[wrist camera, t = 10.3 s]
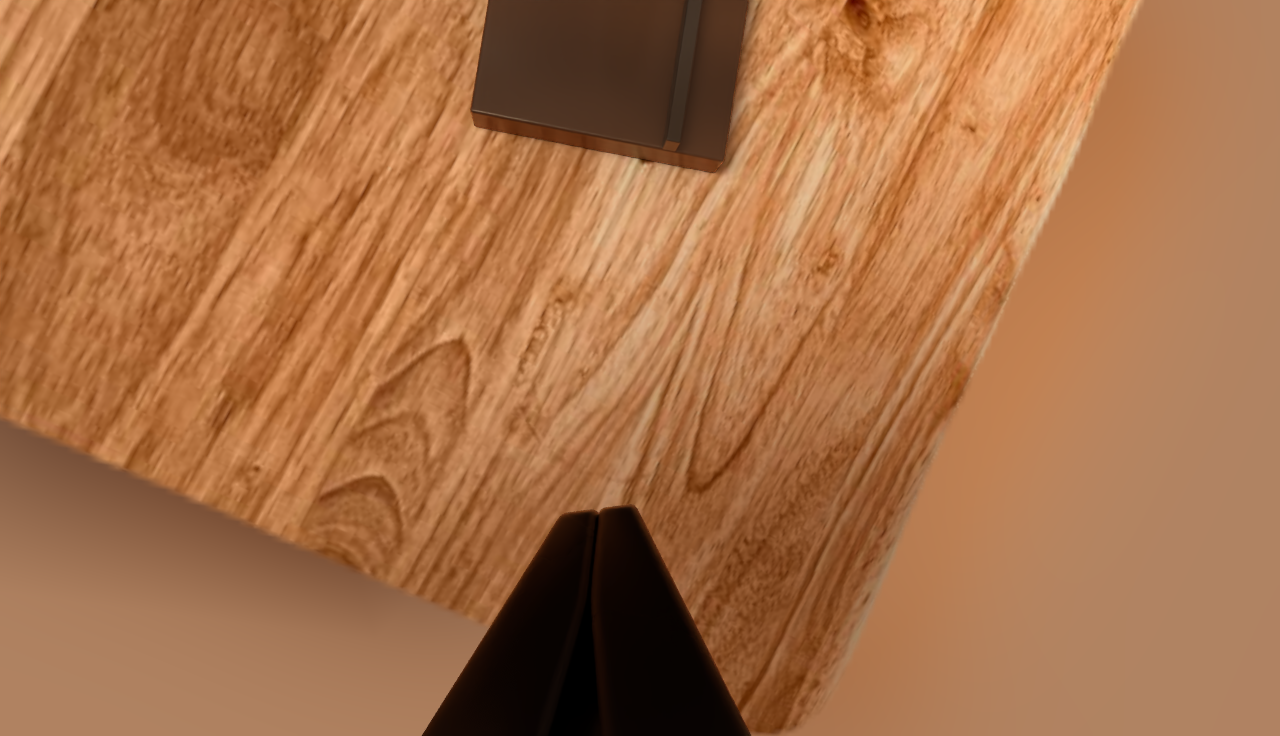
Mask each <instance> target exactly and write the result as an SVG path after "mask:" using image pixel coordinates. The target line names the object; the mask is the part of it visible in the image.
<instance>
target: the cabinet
mask: <svg viewBox="0 0 1280 736" xmlns="http://www.w3.org/2000/svg"><path fill="white" fill-rule="evenodd" d="M748 2H749V0H488V6H487V12H486V18H485V24H484V30H483V36H482V42H481V48H480V54H479V60H478V67H477V73H476V79H475V85H474V91H473V97H472V103H471V109H470V110H471V114H472V118H473V121H474V125H475V126H476V127H481V128H486V129H491V130H497V131H502V132H507V133H512V134H517V135H522V136H527V137H532V138H538V139H543V140H548V141H553V142H558V143H563V144H568V145H574V146H579V147H584V148H589V149H594V150H599V151H604V152H609V153H615V154H620V155H625V156H630V157H635V158H640V159H645V160H651V161H656V162H661V163H666V164H671V165H676V166H681V167H686V168H692V169H697V170H702V171H707V172H712V173H713V172H715V171H716V170H717V169H718V168H719V167H720V165H721V164H722V163H723V162H724V160H725V154H726V147H727V141H728V134H729V127H730V121H731V114H732V108H733V101H734V94H735V88H736V81H737V75H738V68H739V61H740V55H741V48H742V42H743V35H744V28H745V22H746V15H747V8H748Z"/></svg>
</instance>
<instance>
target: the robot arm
mask: <svg viewBox="0 0 1280 736" xmlns="http://www.w3.org/2000/svg"><path fill="white" fill-rule="evenodd" d="M422 736H751V734H750V732H749V730H748V728H747V726H746V724H745V722H744V720H743V718H742V716H741V714H740V712H739V710H738V708H737V706H736V704H735V702H734V700H733V698H732V696H731V694H730V692H729V690H728V688H727V686H726V684H725V682H724V680H723V678H722V676H721V674H720V672H719V670H718V668H717V666H716V664H715V662H714V660H713V658H712V656H711V654H710V652H709V650H708V648H707V646H706V645H705V643H704V641H703V639H702V637H701V635H700V633H699V631H698V629H697V627H696V625H695V623H694V621H693V619H692V617H691V615H690V613H689V611H688V609H687V607H686V605H685V603H684V601H683V599H682V597H681V595H680V593H679V591H678V589H677V587H676V585H675V583H674V581H673V579H672V577H671V575H670V573H669V571H668V569H667V567H666V565H665V563H664V561H663V559H662V557H661V555H660V553H659V551H658V549H657V547H656V545H655V543H654V541H653V539H652V537H651V535H650V533H649V531H648V529H647V527H646V525H645V523H644V521H643V519H642V517H641V515H640V513H639V511H638V509H637V508H636V507H635V506H634V505H632V504H629V505H621V506H613V507H606V508H603V509H601V510H600V512H599V513H598V512H597V511H595V510H592V509H591V510H583V511H576V512H568V513H564V514H562V515H561V516H560V517H559V518H558V520H557V521H556V523H555V525H554V526H553V528H552V529H551V531H550V532H549V534H548V536H547V537H546V539H545V540H544V542H543V544H542V545H541V547H540V548H539V550H538V552H537V553H536V555H535V556H534V558H533V560H532V561H531V563H530V564H529V566H528V567H527V569H526V571H525V572H524V574H523V575H522V577H521V579H520V580H519V582H518V583H517V585H516V587H515V588H514V590H513V591H512V593H511V595H510V596H509V598H508V599H507V601H506V603H505V604H504V606H503V607H502V609H501V610H500V612H499V614H498V615H497V617H496V618H495V620H494V622H493V623H492V625H491V626H490V628H489V630H488V631H487V633H486V634H485V636H484V638H483V639H482V641H481V642H480V644H479V645H478V647H477V649H476V650H475V652H474V654H473V655H472V657H471V658H470V660H469V661H468V663H467V665H466V666H465V668H464V669H463V671H462V673H461V674H460V676H459V677H458V679H457V681H456V682H455V684H454V685H453V687H452V689H451V690H450V692H449V693H448V695H447V696H446V698H445V700H444V701H443V703H442V704H441V706H440V708H439V709H438V711H437V712H436V714H435V716H434V717H433V719H432V720H431V722H430V723H429V725H428V727H427V729H426V730H425V731H424V733H423V735H422Z"/></svg>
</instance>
